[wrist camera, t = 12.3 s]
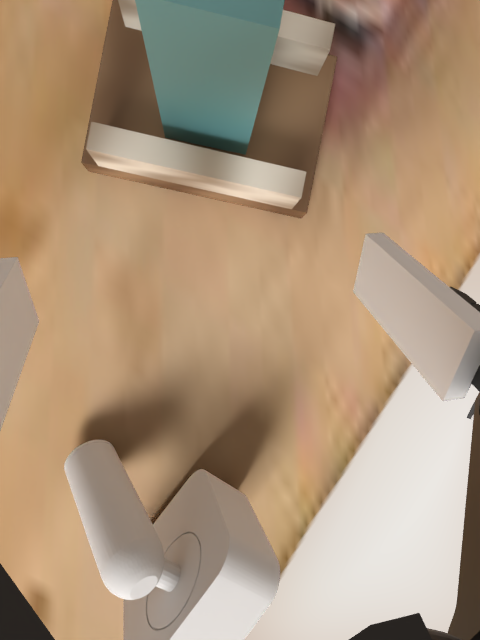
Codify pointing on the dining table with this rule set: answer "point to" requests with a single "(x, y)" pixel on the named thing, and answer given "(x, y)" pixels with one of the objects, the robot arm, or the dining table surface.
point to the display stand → (206, 162)
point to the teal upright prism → (209, 65)
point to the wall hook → (174, 551)
